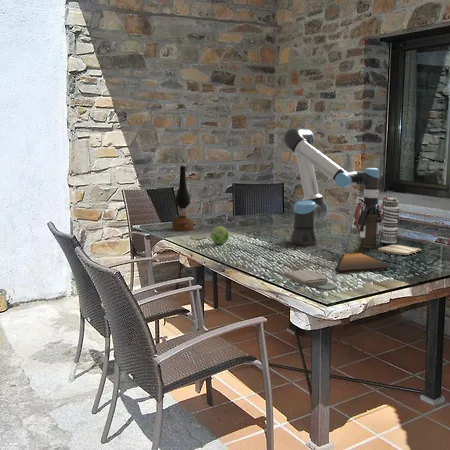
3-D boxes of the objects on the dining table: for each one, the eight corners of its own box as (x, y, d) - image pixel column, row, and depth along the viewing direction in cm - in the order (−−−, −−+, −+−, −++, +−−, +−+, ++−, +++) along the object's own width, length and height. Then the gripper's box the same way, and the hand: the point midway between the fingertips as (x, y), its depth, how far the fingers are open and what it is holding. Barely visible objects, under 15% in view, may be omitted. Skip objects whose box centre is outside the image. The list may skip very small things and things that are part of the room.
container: (367, 248, 306) (369, 215, 303) (356, 245, 314) (358, 213, 311) (380, 247, 310) (382, 214, 307) (369, 244, 318) (370, 212, 315)
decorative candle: (394, 244, 319) (397, 199, 315) (378, 242, 324) (381, 198, 320) (399, 241, 327) (402, 198, 322) (383, 239, 332) (385, 196, 327)
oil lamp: (197, 234, 360) (210, 171, 356) (182, 233, 347) (196, 168, 343) (179, 229, 367) (192, 168, 363) (165, 228, 354) (178, 165, 350)
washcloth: (305, 287, 233) (305, 280, 233) (283, 276, 249) (283, 270, 249) (329, 284, 238) (329, 277, 238) (306, 274, 254) (306, 267, 254)
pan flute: (338, 274, 254) (387, 271, 261) (339, 267, 254) (388, 264, 261) (314, 261, 278) (359, 258, 285) (314, 255, 277) (360, 252, 284)
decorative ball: (226, 246, 308) (227, 228, 306) (208, 245, 310) (208, 227, 308) (230, 242, 318) (230, 225, 316) (212, 242, 320) (212, 224, 318)
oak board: (405, 256, 289) (405, 253, 289) (377, 251, 300) (377, 248, 300) (420, 251, 300) (421, 248, 300) (393, 246, 311) (393, 244, 311)
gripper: (364, 199, 296) (362, 239, 300) (389, 195, 314) (387, 233, 317) (352, 198, 302) (350, 237, 305) (377, 194, 319) (375, 232, 322)
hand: (369, 235), depth 311 cm, fingers open, 13 cm apart
